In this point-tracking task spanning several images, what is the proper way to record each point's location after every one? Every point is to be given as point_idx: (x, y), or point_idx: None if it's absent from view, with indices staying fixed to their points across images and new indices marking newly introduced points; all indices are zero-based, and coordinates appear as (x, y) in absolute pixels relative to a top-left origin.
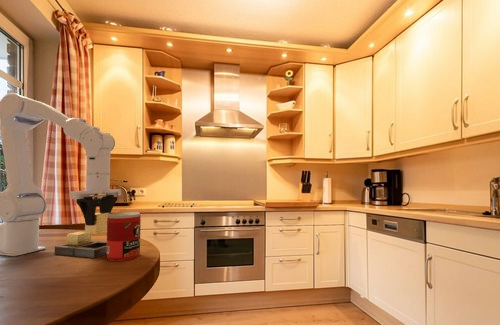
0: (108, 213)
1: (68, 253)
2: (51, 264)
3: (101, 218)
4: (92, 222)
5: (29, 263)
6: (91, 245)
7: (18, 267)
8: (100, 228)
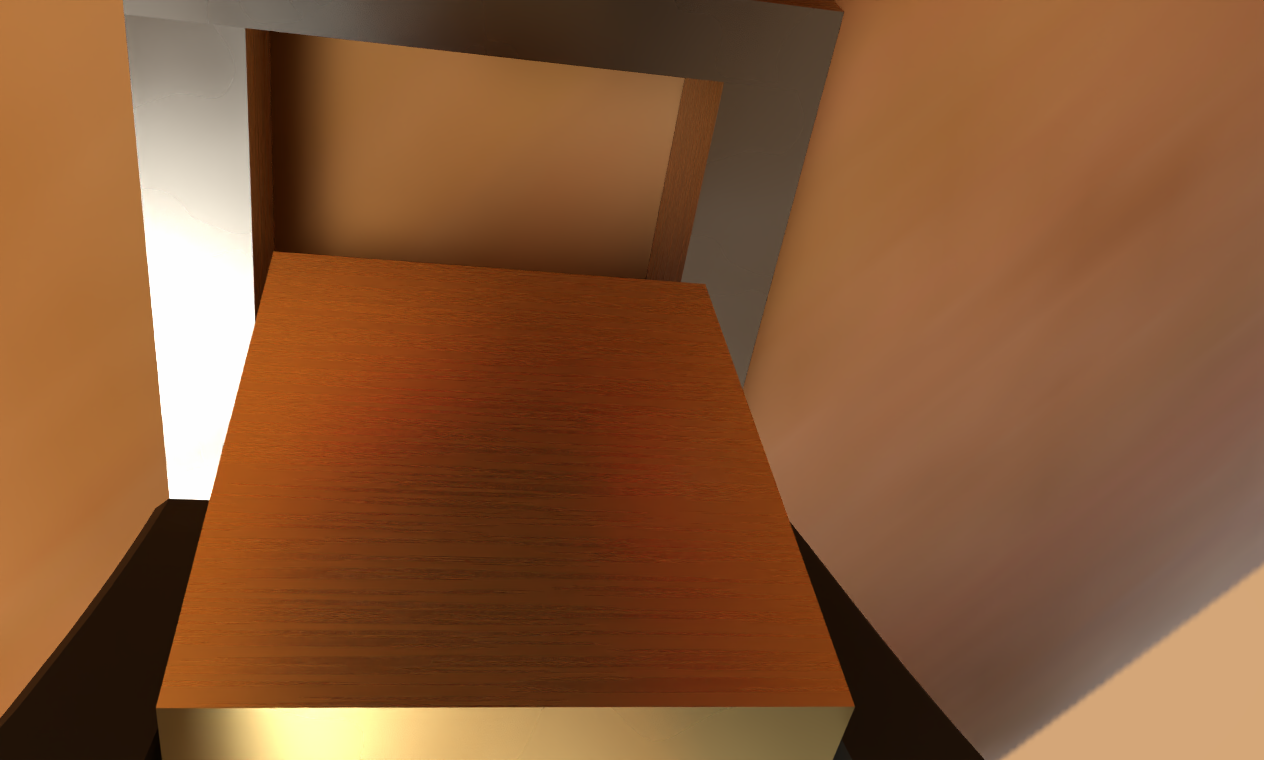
0: (205, 685)
1: None
2: (1077, 347)
3: (599, 553)
4: (820, 566)
5: (1004, 595)
6: None
7: (1138, 571)
8: (594, 338)
